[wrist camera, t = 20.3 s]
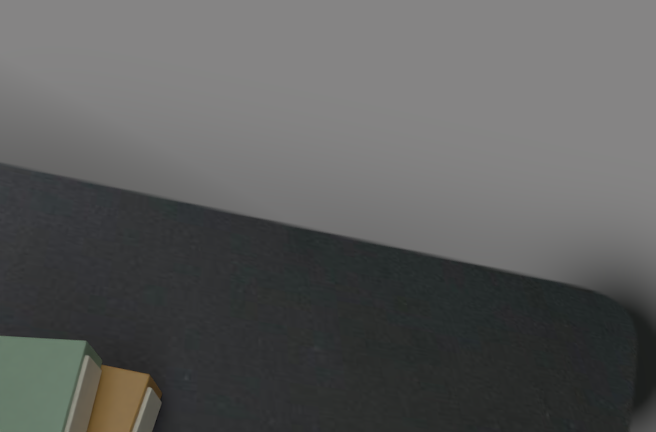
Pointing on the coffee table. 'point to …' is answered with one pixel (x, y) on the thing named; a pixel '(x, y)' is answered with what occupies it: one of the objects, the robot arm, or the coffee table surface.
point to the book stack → (70, 389)
